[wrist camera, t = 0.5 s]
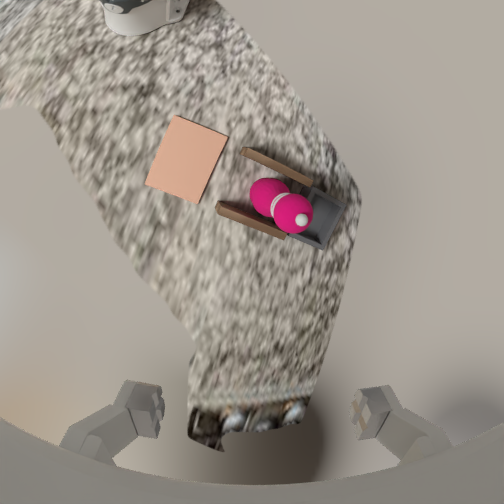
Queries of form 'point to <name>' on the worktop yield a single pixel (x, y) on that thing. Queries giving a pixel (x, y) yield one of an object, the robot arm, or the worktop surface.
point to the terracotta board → (185, 159)
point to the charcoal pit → (320, 217)
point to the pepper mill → (281, 205)
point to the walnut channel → (249, 218)
